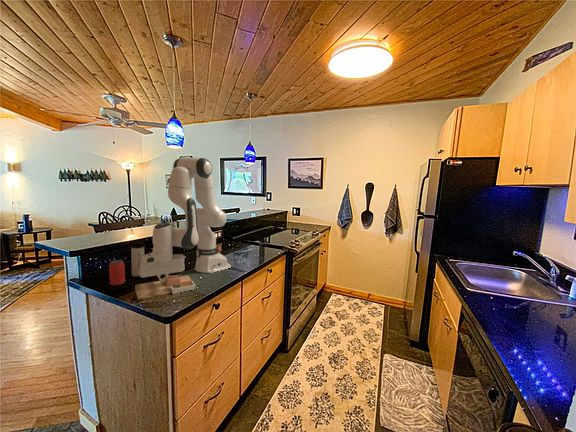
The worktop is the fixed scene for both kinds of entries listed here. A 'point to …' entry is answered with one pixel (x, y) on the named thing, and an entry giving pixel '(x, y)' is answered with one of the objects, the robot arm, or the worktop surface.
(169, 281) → the tile
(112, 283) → the beer can
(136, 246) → the travel mug
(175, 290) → the tray
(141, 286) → the bench
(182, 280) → the tile
